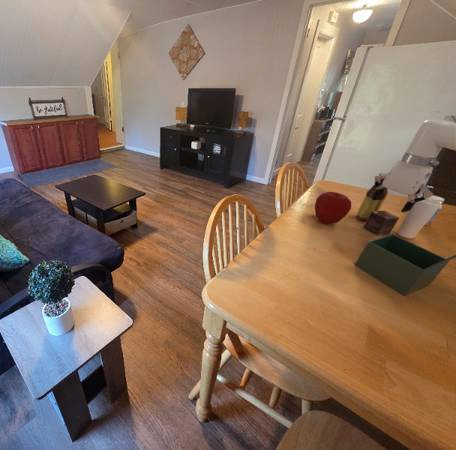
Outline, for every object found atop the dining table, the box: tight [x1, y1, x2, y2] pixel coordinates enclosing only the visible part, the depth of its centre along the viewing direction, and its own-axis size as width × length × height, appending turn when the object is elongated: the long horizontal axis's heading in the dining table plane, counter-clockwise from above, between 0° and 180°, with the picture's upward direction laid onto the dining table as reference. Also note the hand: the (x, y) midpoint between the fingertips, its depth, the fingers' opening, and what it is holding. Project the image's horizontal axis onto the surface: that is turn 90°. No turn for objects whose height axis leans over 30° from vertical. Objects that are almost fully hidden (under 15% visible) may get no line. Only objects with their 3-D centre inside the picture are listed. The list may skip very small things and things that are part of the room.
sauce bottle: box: [356, 172, 389, 222], centre depth 99 cm, size 7×6×20 cm
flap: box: [426, 254, 456, 269], centre depth 61 cm, size 7×12×1 cm
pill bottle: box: [424, 195, 445, 226], centre depth 99 cm, size 6×6×11 cm
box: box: [363, 210, 400, 236], centre depth 94 cm, size 6×6×7 cm
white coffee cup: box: [396, 195, 442, 240], centre depth 90 cm, size 7×7×15 cm
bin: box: [354, 233, 450, 297], centre depth 72 cm, size 14×12×9 cm
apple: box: [314, 191, 352, 225], centre depth 98 cm, size 12×12×13 cm
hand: (389, 205), depth 91 cm, fingers open, 9 cm apart
